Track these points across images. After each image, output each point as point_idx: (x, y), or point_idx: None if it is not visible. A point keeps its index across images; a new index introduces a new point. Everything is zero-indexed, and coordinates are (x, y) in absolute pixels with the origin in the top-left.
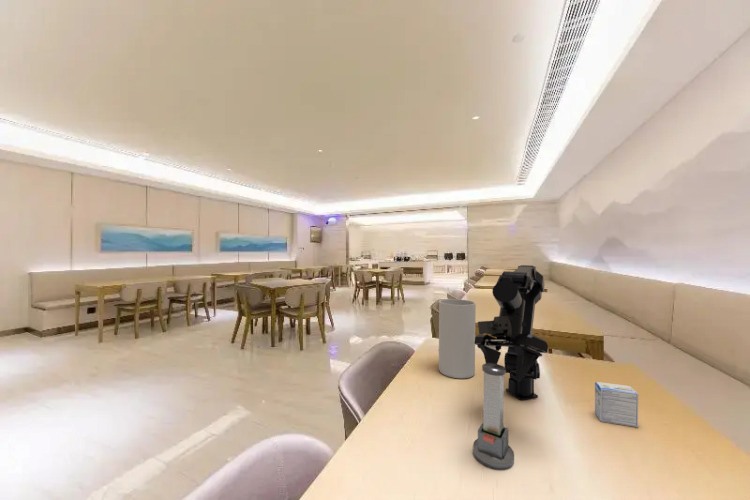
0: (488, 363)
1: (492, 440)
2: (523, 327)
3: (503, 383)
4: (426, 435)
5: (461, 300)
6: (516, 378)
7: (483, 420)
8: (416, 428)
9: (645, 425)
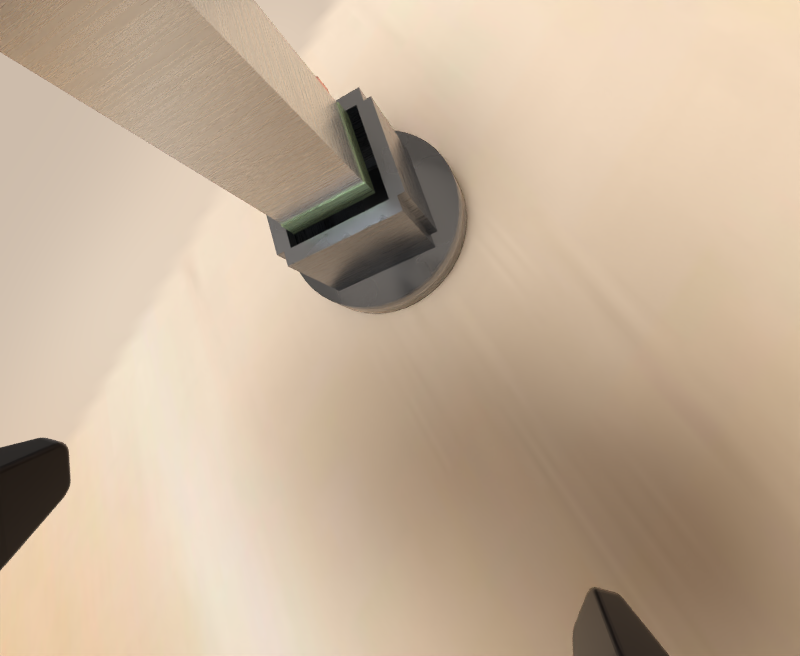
0: None
1: None
2: None
3: (1, 49)
4: (690, 33)
5: None
6: (47, 445)
7: (318, 81)
8: (793, 9)
9: None
